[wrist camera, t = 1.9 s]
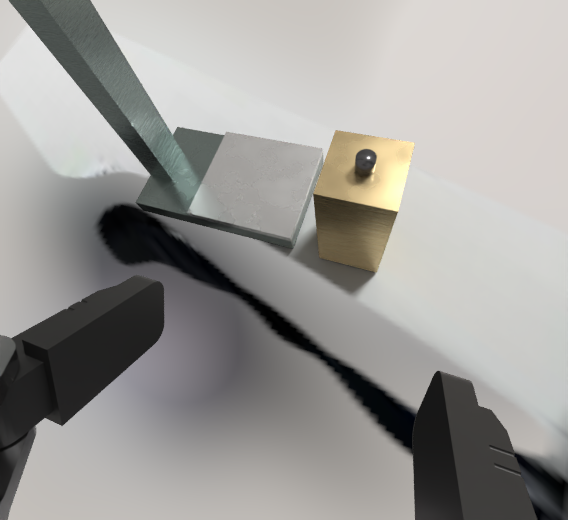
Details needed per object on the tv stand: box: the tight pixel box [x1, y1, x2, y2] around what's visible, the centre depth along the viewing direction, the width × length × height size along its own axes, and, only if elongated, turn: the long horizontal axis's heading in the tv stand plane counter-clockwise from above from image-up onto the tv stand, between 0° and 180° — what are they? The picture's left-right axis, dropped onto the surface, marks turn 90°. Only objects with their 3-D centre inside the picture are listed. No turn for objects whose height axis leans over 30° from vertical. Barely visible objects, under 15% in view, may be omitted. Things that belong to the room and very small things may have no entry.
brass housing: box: [313, 130, 415, 272], centre depth 24 cm, size 5×5×11 cm
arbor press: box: [9, 0, 323, 248], centre depth 21 cm, size 16×13×28 cm
